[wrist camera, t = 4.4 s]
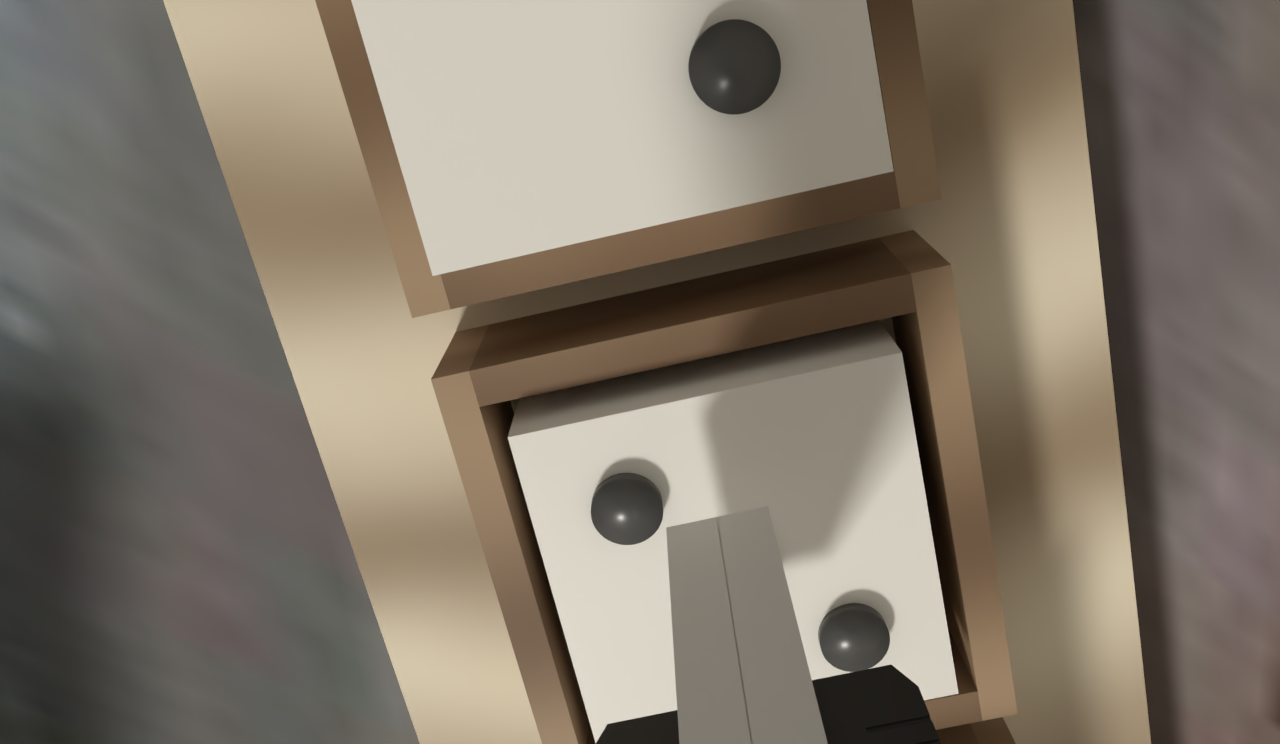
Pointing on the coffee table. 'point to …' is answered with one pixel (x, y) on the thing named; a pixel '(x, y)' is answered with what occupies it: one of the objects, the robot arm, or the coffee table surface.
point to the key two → (616, 112)
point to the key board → (698, 328)
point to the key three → (737, 508)
